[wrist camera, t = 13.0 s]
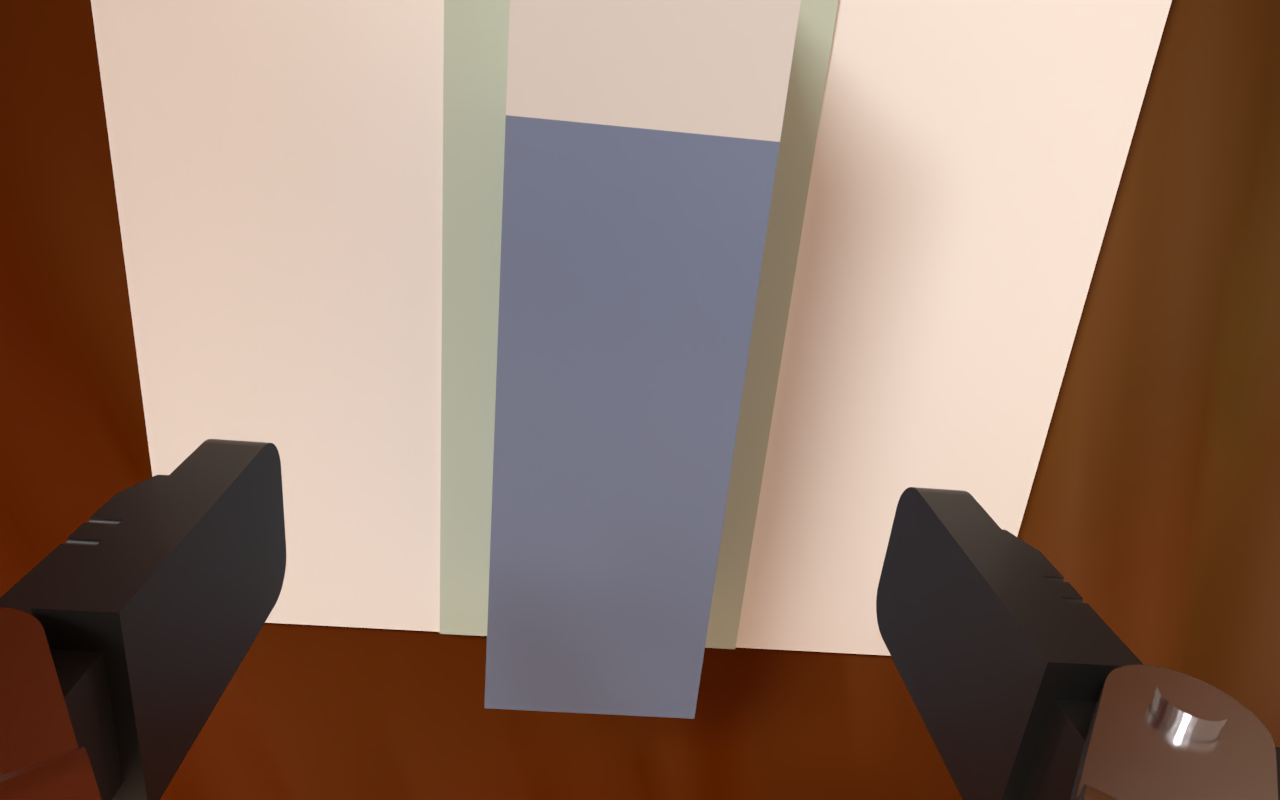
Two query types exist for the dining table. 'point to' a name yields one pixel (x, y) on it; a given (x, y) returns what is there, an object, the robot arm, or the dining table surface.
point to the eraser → (624, 337)
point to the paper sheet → (470, 280)
